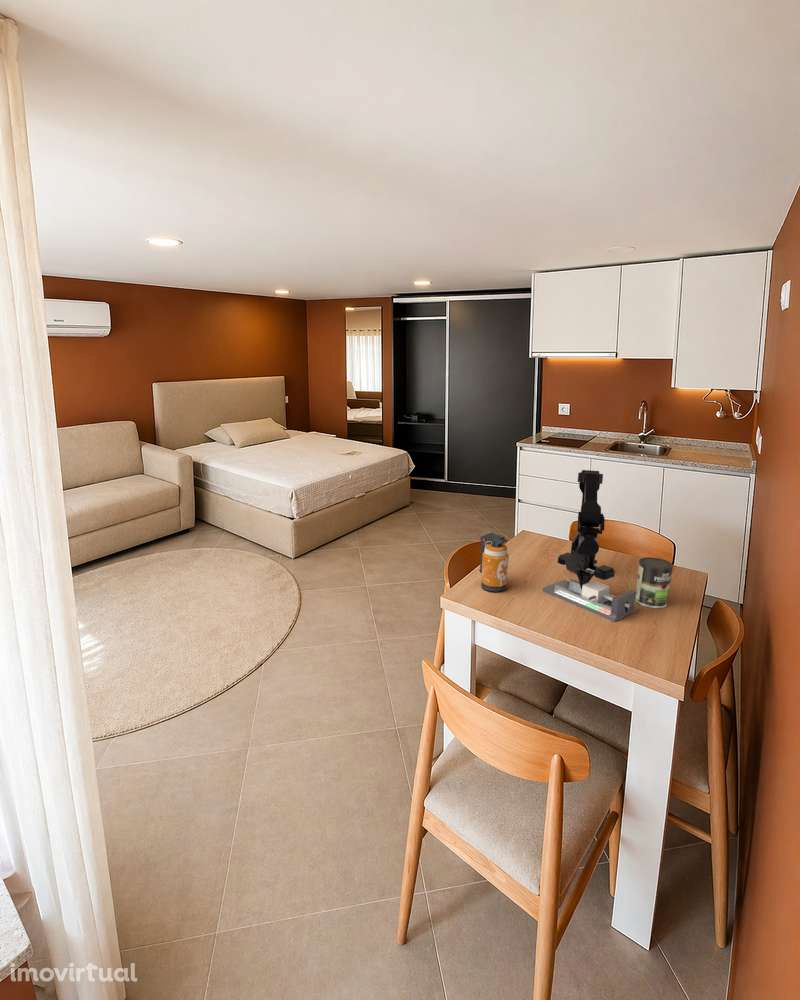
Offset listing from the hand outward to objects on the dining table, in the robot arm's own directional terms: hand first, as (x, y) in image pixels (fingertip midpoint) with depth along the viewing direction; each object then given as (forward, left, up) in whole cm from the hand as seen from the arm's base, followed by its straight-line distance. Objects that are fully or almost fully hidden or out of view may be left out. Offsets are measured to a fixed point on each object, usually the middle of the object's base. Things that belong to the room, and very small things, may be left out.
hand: (582, 589), depth 185 cm
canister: (+18, -25, -4) cm, 31 cm away
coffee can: (-17, +15, -4) cm, 23 cm away
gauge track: (0, +2, -4) cm, 4 cm away
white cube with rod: (+1, +9, -2) cm, 10 cm away
